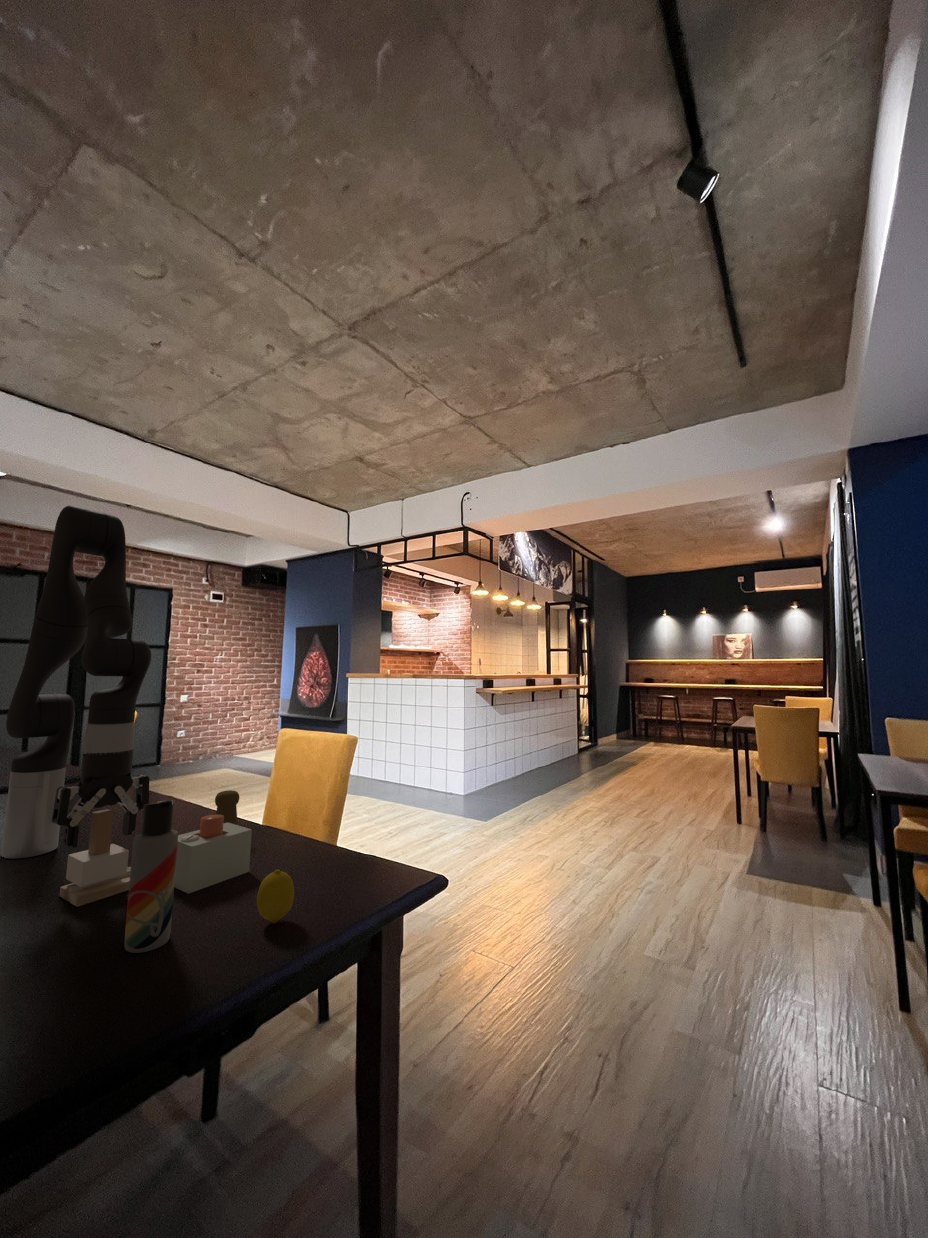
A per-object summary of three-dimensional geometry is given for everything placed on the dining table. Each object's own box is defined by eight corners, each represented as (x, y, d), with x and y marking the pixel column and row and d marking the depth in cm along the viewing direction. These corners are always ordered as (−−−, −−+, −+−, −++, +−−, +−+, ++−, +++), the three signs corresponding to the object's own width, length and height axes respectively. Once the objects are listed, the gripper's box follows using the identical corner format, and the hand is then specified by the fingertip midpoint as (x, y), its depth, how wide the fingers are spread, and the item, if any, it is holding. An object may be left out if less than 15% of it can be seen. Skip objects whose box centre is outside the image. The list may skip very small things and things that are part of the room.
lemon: (300, 918, 80) (302, 866, 81) (276, 935, 75) (279, 879, 76) (271, 912, 82) (274, 861, 83) (247, 928, 77) (250, 873, 78)
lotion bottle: (135, 958, 68) (148, 807, 70) (116, 946, 71) (129, 801, 73) (178, 940, 73) (188, 799, 75) (157, 929, 76) (168, 794, 78)
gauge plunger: (194, 850, 95) (196, 818, 96) (214, 844, 98) (216, 813, 99) (206, 855, 93) (208, 821, 94) (226, 849, 96) (228, 816, 97)
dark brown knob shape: (227, 845, 112) (230, 795, 114) (203, 843, 114) (207, 793, 115) (244, 837, 118) (247, 789, 119) (221, 834, 119) (225, 787, 121)
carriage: (65, 878, 87) (72, 813, 88) (111, 866, 92) (116, 804, 94) (80, 887, 83) (87, 819, 85) (126, 873, 89) (132, 810, 90)
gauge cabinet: (164, 882, 92) (168, 835, 93) (225, 862, 102) (228, 820, 103) (188, 893, 88) (192, 844, 89) (249, 871, 98) (251, 827, 99)
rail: (59, 896, 86) (62, 868, 87) (200, 853, 107) (202, 831, 108) (76, 906, 82) (79, 878, 83) (219, 860, 103) (221, 838, 104)
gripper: (141, 742, 98) (133, 827, 96) (52, 750, 86) (42, 848, 84) (160, 745, 94) (153, 834, 92) (70, 755, 82) (60, 857, 80)
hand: (100, 841), depth 88 cm, fingers open, 8 cm apart
